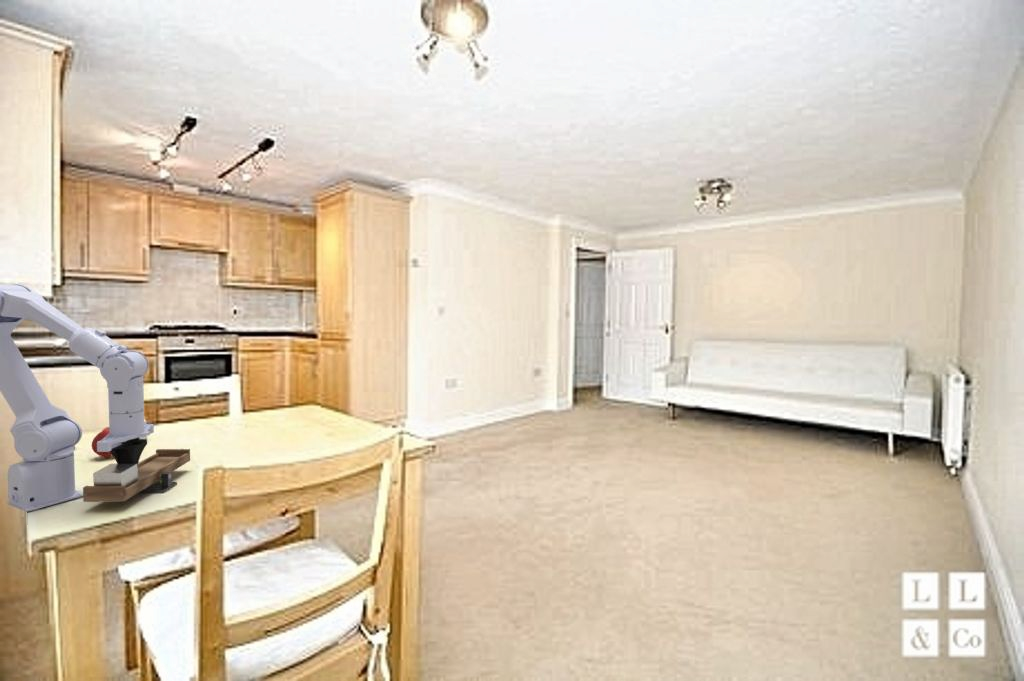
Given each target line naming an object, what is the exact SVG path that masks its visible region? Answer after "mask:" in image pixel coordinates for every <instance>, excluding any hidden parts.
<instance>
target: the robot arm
mask: <svg viewBox="0 0 1024 681" xmlns="http://www.w3.org/2000/svg"><path fill="white" fill-rule="evenodd" d="M24 319H28V320H30V321H32V322H34V323H36V324H38V326H39V325H40V326H41V327H42V328H44V329H46V330H48V331H49V332H52V333H54V334H55V335H57V336H59V337H61V338H62V339H64V340H66V341H67V342H68V348H69V350H70V351H71V352H73V353H74V354H76V355H77V356H79V357H80V358H81V359H84V360H85V361H87V362H88V363H90V364H91V365H93V366H95V367H96V368H98V369H99V371H100V375H101V377H102V378H103V379H104V380H105V381H106V386H107V390H108V392H107V395H108V425H109V426H108V427H109V434H108V435H107V436H106V437H105V438H103V439H102V440H101V441H98V442H97V452H110V453H111V454H112V457H113V458H114V460H115V462H116V464H137V466H138V463H139V462H140V459H141V456H142V454H143V452H144V450H145V448H146V447H147V444H148V439H139V437H145V436H147V437H148V436H150V435H151V434H153V433H155V426H154V423H146V424H144V419H145V400H144V399H145V396H144V394H145V393H144V392H145V391H144V388H145V387H144V376H145V374H147V372H148V370H149V367H150V362H149V360H148V358H147V357H146V356H145V355H144V354H143V353H142V352H141V351H140V350H128V347H127V346H126V345H124V344H119V343H118V342H116V341H115V340H113V339H112V338H110V337H109V336H107V335H106V334H107V332H106V331H105V330H104V329H99V328H98V329H96V328H95V327H89V328H83V327H82V326H80V325H79V324H78V323H76V322H75V321H74V320H72V319H71V318H70V317H68V316H67V315H65V314H64V313H63V312H61V311H60V310H59V309H57V307H55V306H54V305H52V304H50V303H49V302H48V301H47V300H45V299H44V297H43V296H42V295H41V294H40V293H39V292H36V291H33V290H32V289H31V288H30V287H28V286H26V285H24V284H18V283H17V284H15V283H13V284H1V283H0V393H1V394H2V396H3V398H4V399H5V401H6V403H7V405H8V406H9V407H10V409H11V411H12V413H13V414H14V416H15V420H14V422H13V424H12V425H11V428H10V430H9V432H10V433H11V435H12V437H13V441H14V449H15V452H16V454H18V455H19V456H20V457H21V458H22V459H23V460H22V461H20V462H16V463H12V464H11V465H10V466H9V467H8V471H7V491H8V492H7V495H8V501H7V502H6V505H8V506H11V507H13V508H17V509H19V510H20V511H21V510H22V511H24V512H31V511H36V510H38V509H42V508H45V507H50V506H53V505H57V504H59V503H64V502H67V501H71V500H74V499H78V498H81V497H82V498H83V491H79V490H76V480H75V479H76V474H75V473H76V472H75V451H76V445H77V444H79V442H80V441H81V440H82V437H83V430H82V427H81V425H80V424H79V423H78V422H77V421H76V420H74V419H72V418H71V417H70V416H69V414H68V413H67V411H66V410H65V409H62V408H60V407H58V406H55V405H53V404H52V403H51V401H50V400H49V398H48V396H47V395H46V393H45V391H44V389H43V388H42V387H41V385H40V383H39V382H38V380H37V378H36V377H35V375H34V373H33V372H32V370H31V368H30V366H29V364H28V363H27V361H26V360H25V358H24V356H23V354H22V353H21V351H20V350H19V348H18V346H17V344H16V343H15V341H14V340H13V338H12V336H11V335H12V333H13V331H15V328H17V326H18V325H19V324H20V323H21V322H22V321H23V320H24Z"/></svg>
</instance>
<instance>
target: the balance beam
mask: <svg viewBox="0 0 1024 681" xmlns="http://www.w3.org/2000/svg"><path fill="white" fill-rule="evenodd" d="M190 461H191V449H190V448H186V449H184V448H183V449H182V448H157V449H156V450H155V453H154V454H152V455H150V456H149V457H147V458H145V459H142V460H141V461H139V462H138V466H137V469H138V481H137V482H136V483H134V484H132V485H130V486H129V487H127V488H126V486H94V485H86V486H83V487H82V492H83V496H82V498H83V503H91V502H92V503H93V502H95V503H97V502H98V503H101V502H103V503H104V502H106V503H107V502H113V503H115V502H126V501H128V500H129V499H130V498H132V497H134V496H135V495H136V494H139V493H138V492H140V491H142V490H143V489H145V488H147V487H148V486H150V485H151V484H153V483H155V482H159V481H160V480H161V474H162V473H164V472H172V473H173V472H174V471H176V470H177V469H179V468H180V467H182V466H183V465H186V464H187V463H189V462H190Z"/></svg>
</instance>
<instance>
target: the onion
mask: <svg viewBox="0 0 1024 681" xmlns="http://www.w3.org/2000/svg"><path fill="white" fill-rule="evenodd" d="M108 434H109V426H106V427H104V428H103V429H102V431H100V432H99V433H97V434H96V436H94V438H93V440H92V442H91V449H92V452H94V453H95V454H96V455H98V456H100V457H101V458H105V459H109V458H111V457H113V455H112V454H111V453H110V452H97V442H98V441H101V440H102V439H103V438H105V437H106V436H107V435H108Z"/></svg>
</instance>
